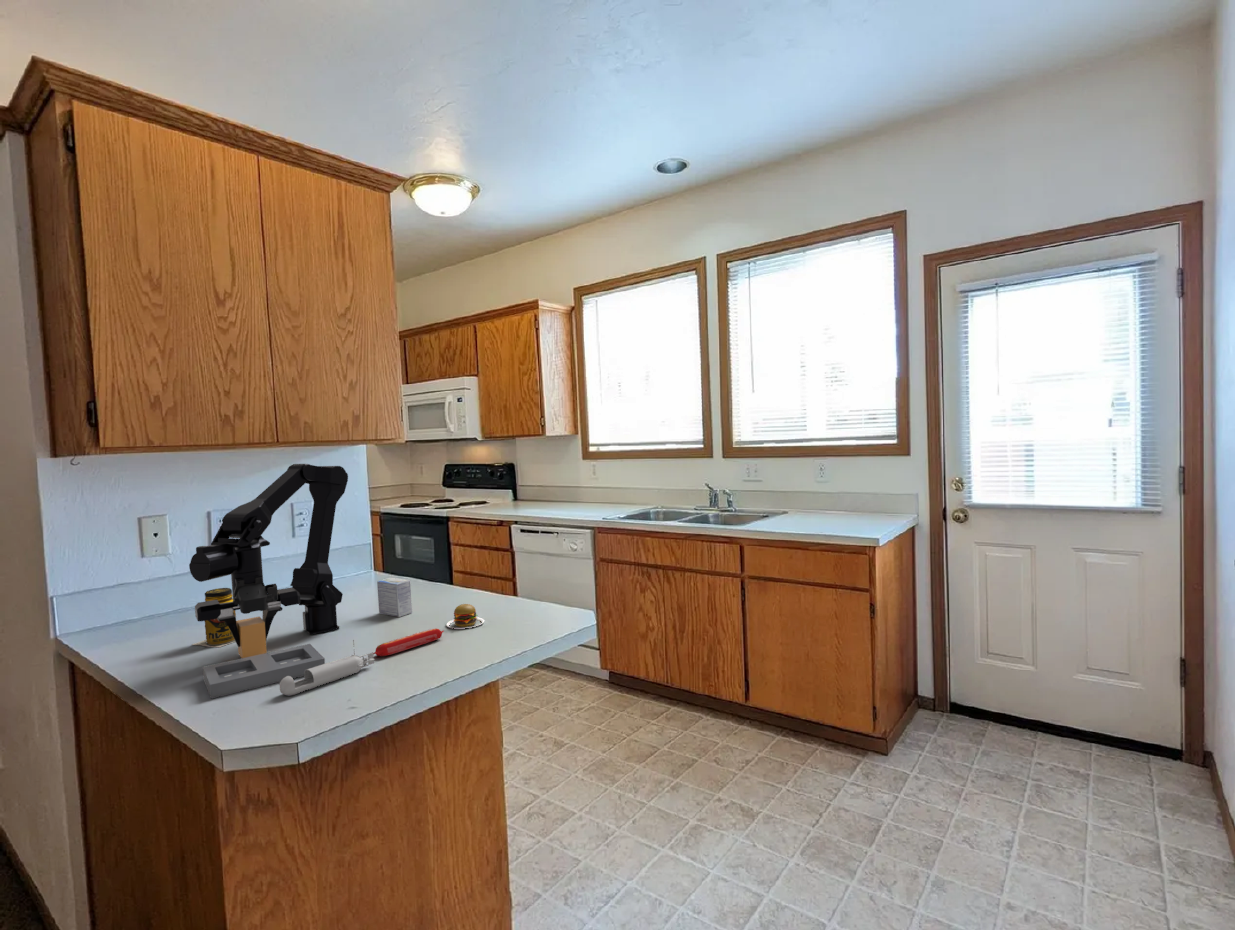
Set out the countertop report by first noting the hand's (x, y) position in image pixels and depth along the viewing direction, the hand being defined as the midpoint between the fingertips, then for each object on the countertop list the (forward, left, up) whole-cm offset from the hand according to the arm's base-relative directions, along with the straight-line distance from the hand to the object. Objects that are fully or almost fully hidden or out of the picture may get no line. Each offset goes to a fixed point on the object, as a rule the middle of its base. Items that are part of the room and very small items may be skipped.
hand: (251, 643), depth 135 cm
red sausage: (-27, +18, -3) cm, 33 cm away
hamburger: (-43, +11, -4) cm, 45 cm away
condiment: (+4, -18, -3) cm, 19 cm away
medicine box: (-34, -11, -3) cm, 36 cm away
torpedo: (-9, +26, -3) cm, 28 cm away
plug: (0, -2, -2) cm, 3 cm away
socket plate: (0, +14, -3) cm, 14 cm away
